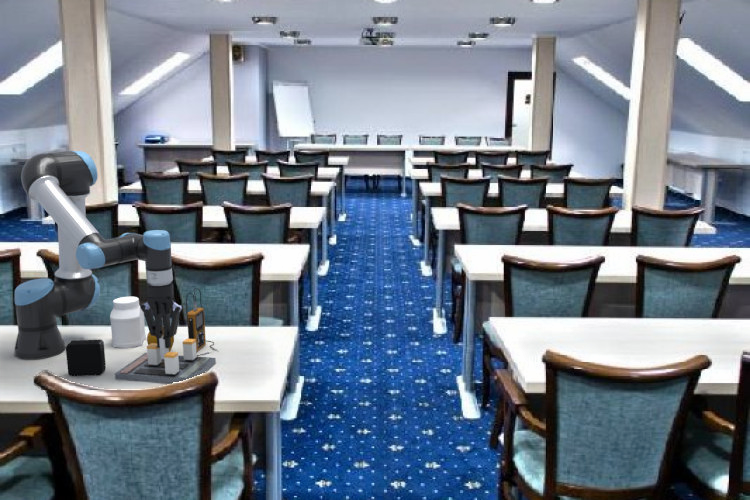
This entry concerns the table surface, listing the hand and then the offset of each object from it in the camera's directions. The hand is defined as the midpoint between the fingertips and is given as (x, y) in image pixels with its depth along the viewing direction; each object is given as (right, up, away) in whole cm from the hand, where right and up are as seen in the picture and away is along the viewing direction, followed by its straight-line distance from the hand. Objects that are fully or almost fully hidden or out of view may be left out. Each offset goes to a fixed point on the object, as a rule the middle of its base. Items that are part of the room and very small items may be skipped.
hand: (164, 357), depth 231 cm
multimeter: (+9, 0, +20) cm, 22 cm away
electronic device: (-23, -5, -1) cm, 24 cm away
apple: (-6, -1, +16) cm, 17 cm away
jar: (-19, +1, +27) cm, 33 cm away
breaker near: (+4, -3, -6) cm, 8 cm away
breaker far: (+6, -1, +5) cm, 8 cm away
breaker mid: (-3, -2, +1) cm, 4 cm away
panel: (0, -4, +1) cm, 4 cm away
